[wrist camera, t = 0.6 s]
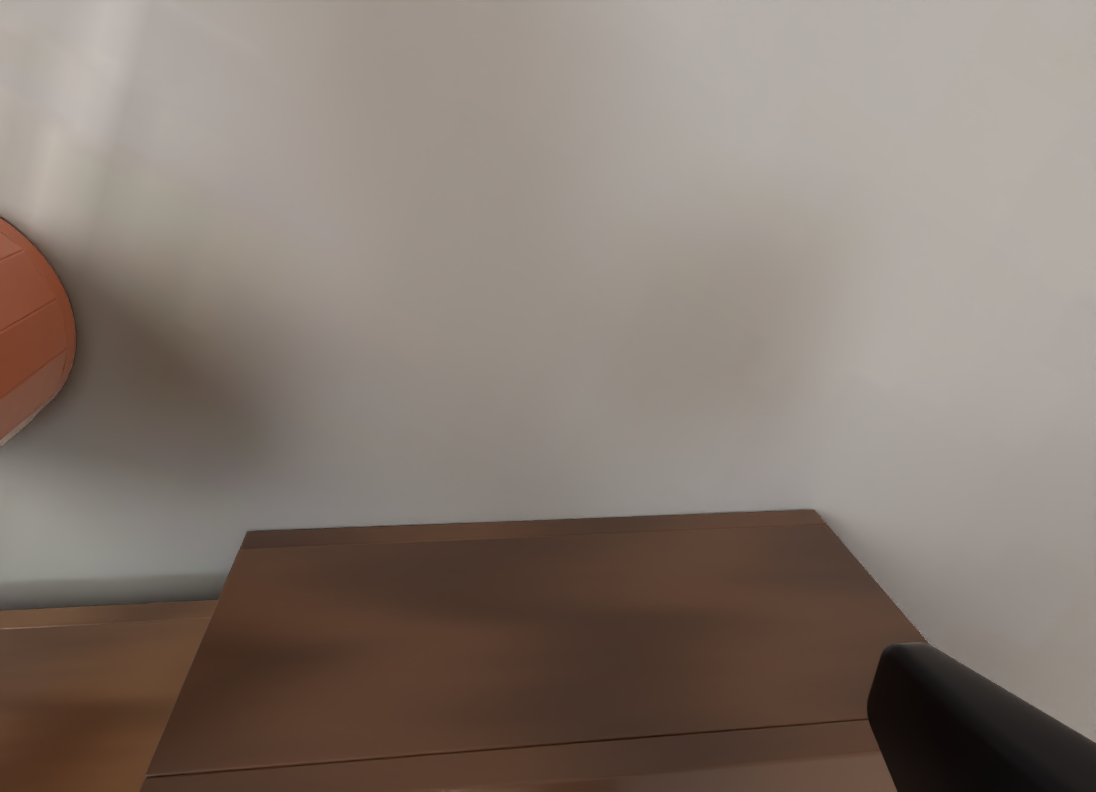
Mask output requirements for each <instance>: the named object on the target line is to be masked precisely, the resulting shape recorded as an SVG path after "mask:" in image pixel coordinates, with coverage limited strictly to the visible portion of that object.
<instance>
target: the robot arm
mask: <svg viewBox="0 0 1096 792" xmlns="http://www.w3.org/2000/svg"><path fill="white" fill-rule="evenodd" d="M867 716H868V720H869V724H870V727H871V729H872V732H873V734H874V736H875V739H876V741H877V744H878V746H879V749H880V751H881V753H882V756H883V758H884V761H885V763H886V766H887V768H888V770H889V773H890V775H891V778H892V780H893V783H894V785H895V787H896V790H897V792H1096V743H1095V742H1093V741H1091V740H1090V739H1088V738H1086V737H1085V736H1083V735H1081V734H1080V733H1078V732H1076V731H1074V730H1073V729H1071V728H1069V727H1068V726H1066V725H1064V724H1063V723H1061V722H1059V721H1058V720H1056V719H1054V718H1052V717H1051V716H1049V715H1047V714H1046V713H1044V712H1042V711H1041V710H1039V709H1037V708H1036V707H1034V706H1032V705H1031V704H1029V703H1027V702H1025V701H1024V700H1022V699H1020V698H1019V697H1017V696H1015V695H1014V694H1012V693H1010V692H1009V691H1007V690H1005V689H1003V688H1002V687H1000V686H998V685H997V684H995V683H993V682H992V681H990V680H988V679H987V678H985V677H983V676H981V675H980V674H978V673H976V672H975V671H973V670H971V669H970V668H968V667H966V666H965V665H963V664H961V663H959V662H958V661H956V660H954V659H953V658H951V657H949V656H948V655H946V654H944V653H943V652H941V651H939V650H937V649H936V648H934V647H932V646H930V645H929V644H926V643H920V642H914V643H894V644H890V645H888V646H887V647H886V648H885V649H884V650H883V651H882V653H881V656H880V659H879V662H878V666H877V669H876V672H875V676H874V679H873V682H872V685H871V689H870V692H869V695H868V699H867Z"/></svg>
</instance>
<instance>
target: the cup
mask: <svg viewBox="0 0 1096 792" xmlns="http://www.w3.org/2000/svg"><path fill="white" fill-rule="evenodd" d="M75 350H76V328H75V321H74V315H73V312H72V308H71V305H70V302H69V299H68V297H67V294H66V292H65V290H64V288H63V285H62V283H61V282H60V280H59V278H58V277H57V275H56V273H55V272H54V270H53V268H52V267H51V266H50V264H49V263H48V262H47V260H46V259H45V258H44V256H43V255H42V254H41V253H40V252H39V251H38V250H37V248H36V247H35V246H34V245H33V244H32V243H31V242H30V241H29V240H28V239H27V238H26V237H25V236H23V235H22V234H21V233H20V232H19V231H18V230H16V229H15V228H14V227H13V226H12V225H10V224H9V223H7V222H6V221H4V220H3V219H1V218H0V447H2V446H3V445H4V444H5V443H6V442H7V441H9V440H10V439H11V438H12V437H13V436H14V435H16V434H17V433H18V432H19V431H20V430H21V429H23V428H24V427H25V426H26V425H27V424H28V423H29V422H30V421H31V420H32V419H33V418H34V417H35V416H36V415H37V414H38V413H39V412H40V411H41V410H42V409H43V408H44V407H45V406H46V405H48V404H49V403H50V402H51V401H52V400H53V399H54V398H55V396H56V395H57V394H58V393H59V391H60V390H61V389H62V387H63V385H64V384H65V382H66V380H67V378H68V376H69V374H70V371H71V368H72V365H73V362H74V356H75Z"/></svg>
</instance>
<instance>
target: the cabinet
mask: <svg viewBox="0 0 1096 792" xmlns="http://www.w3.org/2000/svg"><path fill="white" fill-rule="evenodd" d="M914 642H920V643H926V644H929V643H928V642H927V641H926V640H925V638H924V637H923V636H922V635H921V634H920V633H919V631H918V630H917V629H916V628H915V627H914V626H913V624H912V623H911V622H910V621H909V620H908V619H907V617H906V616H905V615H904V614H903V613H902V612H901V610H900V609H899V608H898V607H897V606H896V604H895V603H894V602H893V601H892V600H891V599H890V597H889V596H888V595H887V594H886V593H885V592H884V590H883V589H882V588H881V587H880V586H879V585H878V583H877V582H876V581H875V580H874V579H873V578H872V576H871V575H870V574H869V573H868V572H867V571H866V569H865V568H864V567H863V566H862V565H861V564H860V562H859V561H858V560H857V559H856V558H855V557H854V555H853V554H852V553H851V552H850V551H849V550H848V548H847V547H846V546H845V545H844V544H843V543H842V541H841V540H840V539H839V538H838V537H837V536H836V534H835V533H834V532H833V531H832V530H831V528H830V527H829V526H828V525H826V523H825V522H824V521H823V520H822V518H821V517H820V516H819V515H818V514H817V512H816V511H815V510H796V511H771V512H745V513H719V514H693V515H667V516H642V517H616V518H590V519H564V520H539V521H513V522H487V523H461V524H435V525H410V526H384V527H358V528H332V529H307V530H281V531H255V532H247V533H246V535H245V537H244V540H243V542H242V545H241V547H240V550H239V551H238V553H237V556H236V558H235V561H234V563H233V565H232V568H231V570H230V573H229V575H228V577H227V580H226V582H225V584H224V587H223V589H222V592H221V594H220V596H219V599H218V601H217V604H216V606H215V608H214V611H213V613H212V615H211V618H210V620H209V623H208V625H207V627H206V630H205V632H204V635H203V637H202V639H201V642H200V644H199V647H198V649H197V651H196V654H195V656H194V658H193V661H192V663H191V666H190V668H189V670H188V673H187V675H186V678H185V680H184V682H183V685H182V687H181V689H180V692H179V694H178V697H177V699H176V701H175V704H174V706H173V709H172V711H171V713H170V716H169V718H168V720H167V723H166V725H165V728H164V730H163V732H162V735H161V737H160V740H159V742H158V744H157V747H156V749H155V751H154V754H153V756H152V759H151V761H150V763H149V766H148V768H147V771H146V773H145V779H144V780H143V782H142V784H141V787H140V789H139V792H897V790H896V787H895V785H894V783H893V780H892V778H891V775H890V773H889V770H888V768H887V766H886V763H885V761H884V758H883V756H882V753H881V751H880V749H879V746H878V744H877V741H876V739H875V736H874V734H873V732H872V729H871V727H870V724H869V720H868V716H867V699H868V695H869V692H870V689H871V685H872V682H873V679H874V676H875V672H876V669H877V666H878V662H879V659H880V656H881V653H882V651H883V650H884V649H885V648H886V647H887V646H888V645H890V644H894V643H914ZM929 645H930V644H929ZM930 646H931V645H930Z"/></svg>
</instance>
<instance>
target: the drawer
mask: <svg viewBox="0 0 1096 792" xmlns="http://www.w3.org/2000/svg"><path fill="white" fill-rule="evenodd" d="M217 601H218V600H203V601H183V602H163V603H143V604H123V605H104V606H84V607H64V608H44V609H24V610H5V611H0V792H139V789H140V787H141V784H142V782H143V780H144V779H145V773H146V771H147V768H148V766H149V763H150V761H151V759H152V756H153V754H154V751H155V749H156V747H157V744H158V742H159V740H160V737H161V735H162V732H163V730H164V728H165V725H166V723H167V720H168V718H169V716H170V713H171V711H172V709H173V706H174V704H175V701H176V699H177V697H178V694H179V692H180V689H181V687H182V685H183V682H184V680H185V678H186V675H187V673H188V670H189V668H190V666H191V663H192V661H193V658H194V656H195V654H196V651H197V649H198V647H199V644H200V642H201V639H202V637H203V635H204V632H205V630H206V627H207V625H208V623H209V620H210V618H211V615H212V613H213V611H214V608H215V606H216V604H217Z"/></svg>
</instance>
